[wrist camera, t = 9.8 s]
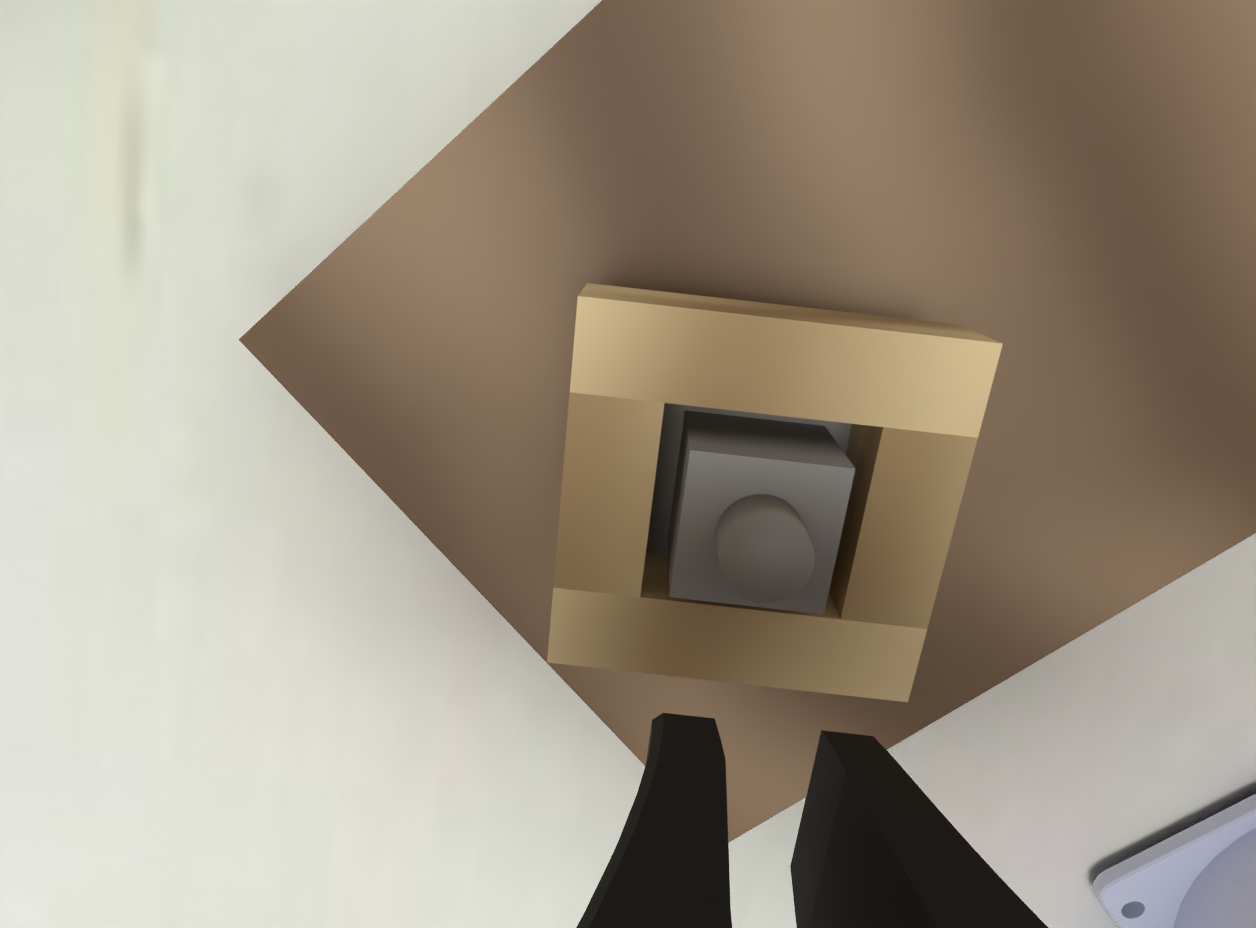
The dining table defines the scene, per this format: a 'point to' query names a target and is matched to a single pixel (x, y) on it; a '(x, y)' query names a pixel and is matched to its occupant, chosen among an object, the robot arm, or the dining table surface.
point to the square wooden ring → (776, 385)
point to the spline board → (831, 280)
